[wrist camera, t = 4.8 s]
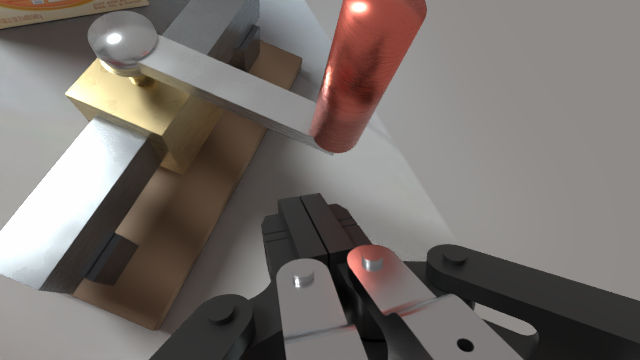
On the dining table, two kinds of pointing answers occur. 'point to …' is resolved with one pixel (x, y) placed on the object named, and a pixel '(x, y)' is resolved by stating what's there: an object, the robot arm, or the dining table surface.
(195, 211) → the board
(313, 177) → the dining table surface
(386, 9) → the lever
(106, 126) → the pipe valve
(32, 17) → the coffeecake box
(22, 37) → the dining table surface
